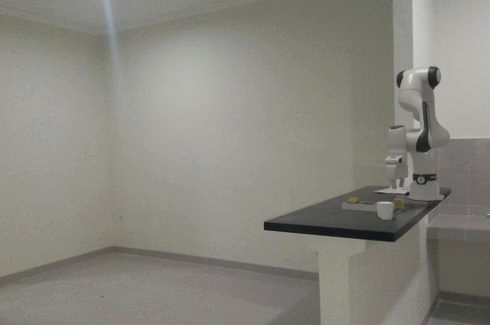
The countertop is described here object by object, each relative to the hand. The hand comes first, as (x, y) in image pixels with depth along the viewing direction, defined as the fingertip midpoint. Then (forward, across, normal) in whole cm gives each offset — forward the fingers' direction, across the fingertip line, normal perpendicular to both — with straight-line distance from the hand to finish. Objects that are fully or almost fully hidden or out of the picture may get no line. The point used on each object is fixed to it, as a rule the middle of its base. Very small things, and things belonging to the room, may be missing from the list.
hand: (398, 188), depth 193 cm
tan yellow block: (+10, -1, 0) cm, 10 cm away
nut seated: (+10, +10, -18) cm, 23 cm away
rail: (+10, +10, -11) cm, 18 cm away
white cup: (+11, +24, +3) cm, 27 cm away
